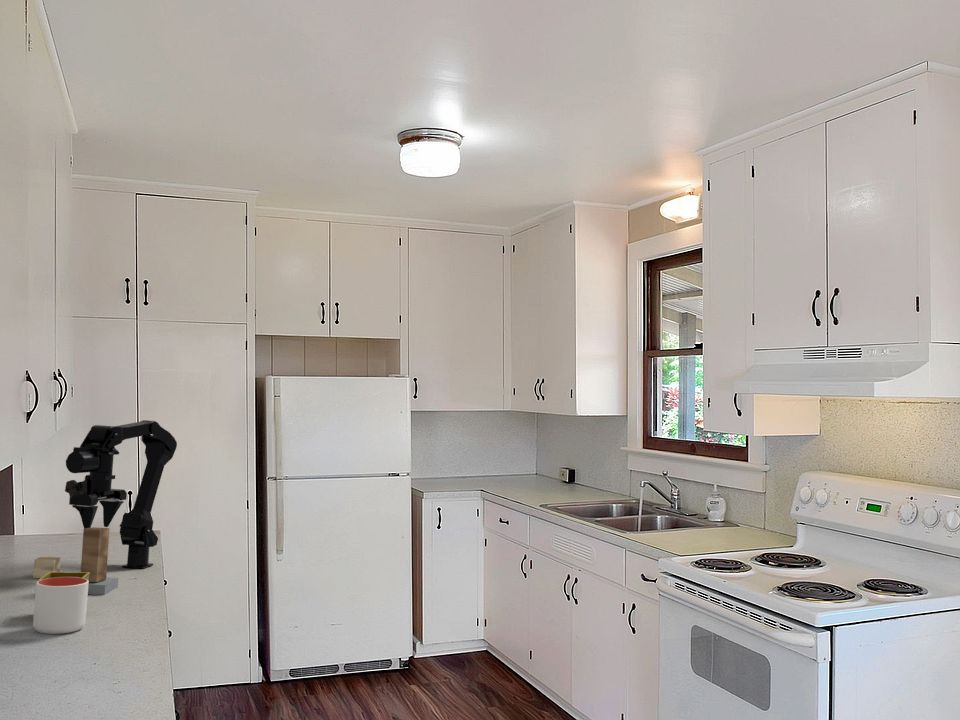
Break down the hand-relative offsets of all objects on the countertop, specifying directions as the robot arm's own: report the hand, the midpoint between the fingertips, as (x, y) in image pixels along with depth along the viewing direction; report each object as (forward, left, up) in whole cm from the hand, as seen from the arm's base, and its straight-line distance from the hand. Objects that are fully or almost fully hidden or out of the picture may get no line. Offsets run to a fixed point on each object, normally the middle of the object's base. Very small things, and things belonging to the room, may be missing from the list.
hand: (96, 528), depth 236 cm
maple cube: (+4, -11, -13) cm, 18 cm away
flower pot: (+40, +17, -13) cm, 45 cm away
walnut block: (+15, +9, -10) cm, 20 cm away
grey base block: (+14, +9, -14) cm, 22 cm away
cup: (+50, +23, -13) cm, 57 cm away
